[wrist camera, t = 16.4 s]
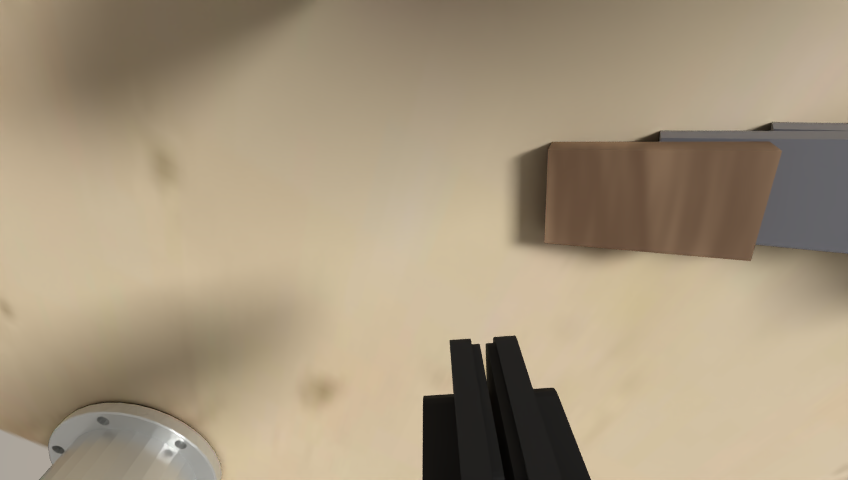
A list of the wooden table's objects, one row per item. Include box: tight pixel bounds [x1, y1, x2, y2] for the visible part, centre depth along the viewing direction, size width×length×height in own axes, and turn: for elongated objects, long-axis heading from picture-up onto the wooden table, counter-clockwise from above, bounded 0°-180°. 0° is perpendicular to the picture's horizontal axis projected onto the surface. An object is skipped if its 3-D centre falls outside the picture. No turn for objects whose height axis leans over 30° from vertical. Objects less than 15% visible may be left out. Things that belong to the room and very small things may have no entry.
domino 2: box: [659, 131, 848, 254], centre depth 19 cm, size 2×5×9 cm
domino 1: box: [544, 141, 782, 261], centre depth 20 cm, size 2×5×9 cm
